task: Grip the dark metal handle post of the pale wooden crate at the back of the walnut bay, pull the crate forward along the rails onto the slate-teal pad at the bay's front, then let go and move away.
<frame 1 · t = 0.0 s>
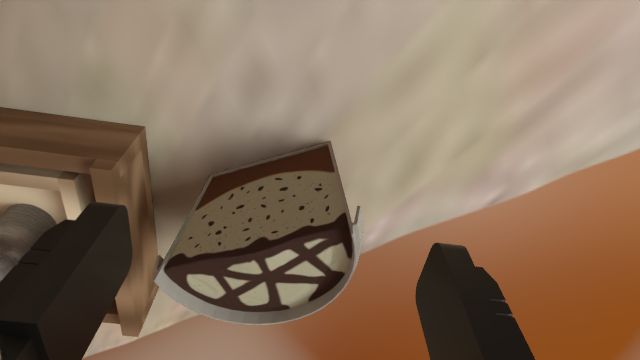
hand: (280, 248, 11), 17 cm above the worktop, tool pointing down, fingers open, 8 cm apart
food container: (283, 189, 31), on the worktop
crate: (0, 257, 27), point 6 cm above the worktop, slide at 0.0 cm
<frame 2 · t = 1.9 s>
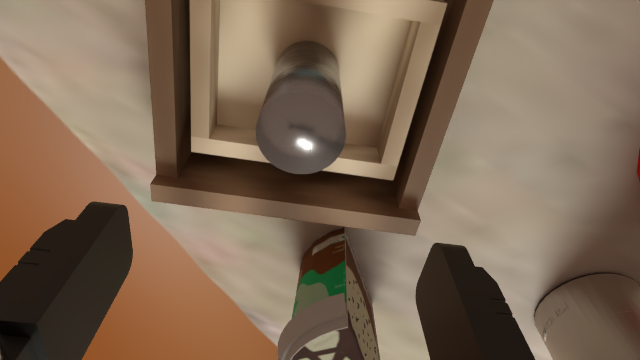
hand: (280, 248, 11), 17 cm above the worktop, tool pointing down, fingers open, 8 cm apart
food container: (324, 274, 35), on the worktop
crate: (305, 95, 20), point 6 cm above the worktop, slide at 0.0 cm
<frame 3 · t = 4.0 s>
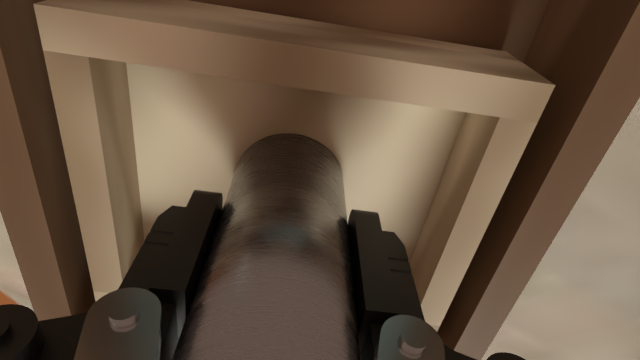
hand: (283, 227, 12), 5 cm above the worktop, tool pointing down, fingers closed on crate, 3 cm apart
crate: (281, 253, 11), point 6 cm above the worktop, slide at 0.0 cm, touching gripper
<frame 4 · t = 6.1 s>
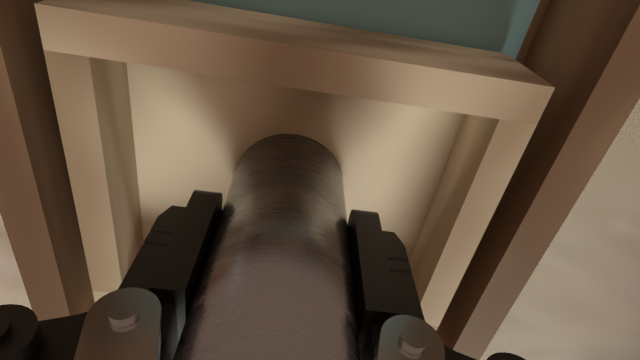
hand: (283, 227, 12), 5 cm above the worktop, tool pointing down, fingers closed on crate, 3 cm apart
bay: (289, 175, 16), on the worktop
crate: (281, 254, 11), point 6 cm above the worktop, slide at 7.2 cm, touching gripper
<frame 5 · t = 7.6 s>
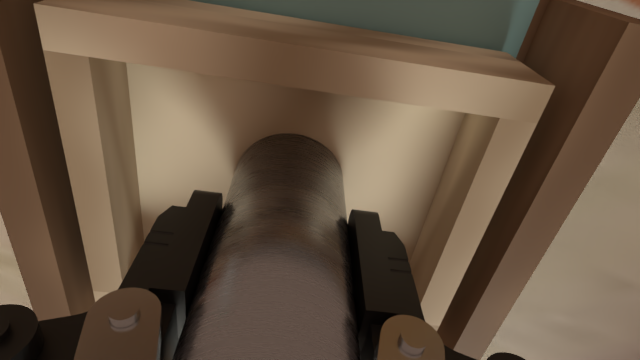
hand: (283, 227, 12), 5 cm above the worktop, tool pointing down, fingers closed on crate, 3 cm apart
bay: (274, 283, 19), on the worktop
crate: (281, 253, 11), point 6 cm above the worktop, slide at 13.4 cm, touching gripper
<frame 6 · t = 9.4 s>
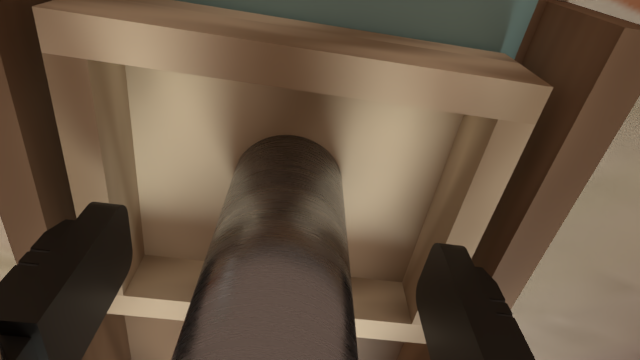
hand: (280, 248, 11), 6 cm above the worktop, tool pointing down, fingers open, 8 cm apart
bay: (274, 285, 19), on the worktop
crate: (279, 255, 11), point 6 cm above the worktop, slide at 13.4 cm
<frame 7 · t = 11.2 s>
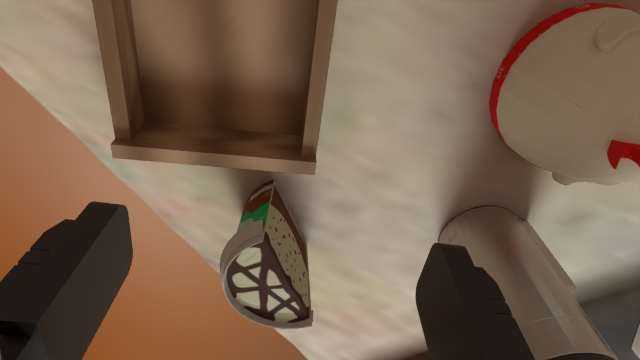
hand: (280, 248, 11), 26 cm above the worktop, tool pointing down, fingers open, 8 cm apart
kitchen timer: (566, 85, 36), on the worktop
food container: (264, 221, 43), on the worktop
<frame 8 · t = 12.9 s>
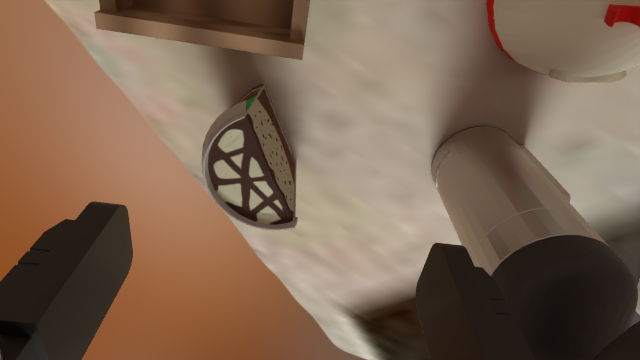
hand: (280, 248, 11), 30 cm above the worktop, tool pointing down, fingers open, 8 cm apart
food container: (253, 133, 42), on the worktop
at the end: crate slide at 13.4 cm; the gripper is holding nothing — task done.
